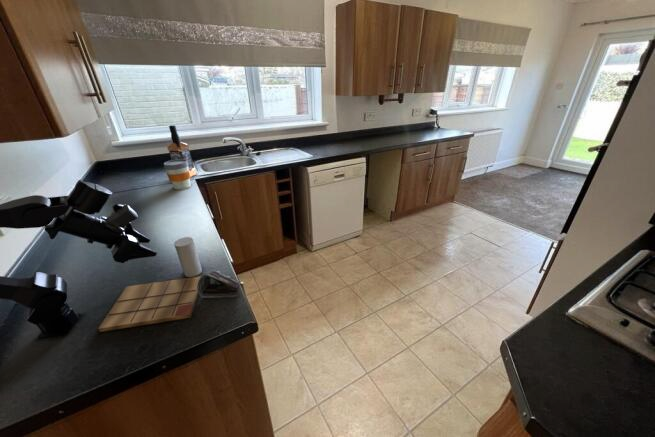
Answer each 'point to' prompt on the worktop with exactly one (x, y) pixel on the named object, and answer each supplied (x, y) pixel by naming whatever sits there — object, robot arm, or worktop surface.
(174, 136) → the whiskey bottle
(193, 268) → the white plastic cylinder
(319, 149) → the worktop surface
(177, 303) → the board
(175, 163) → the reusable coffee cup
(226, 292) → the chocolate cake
